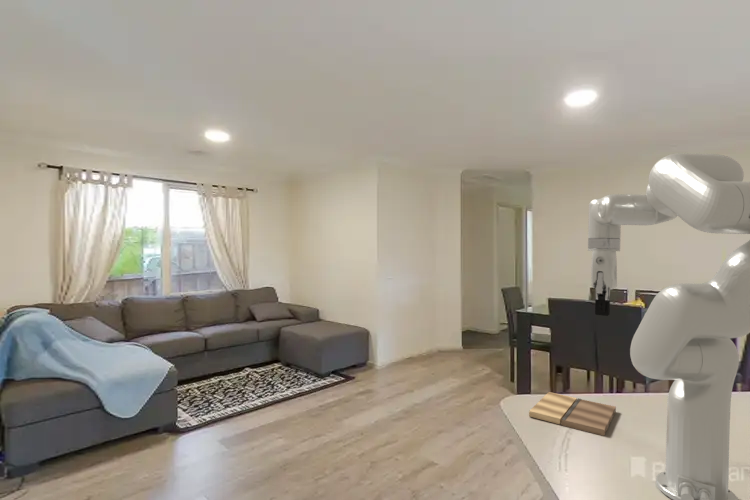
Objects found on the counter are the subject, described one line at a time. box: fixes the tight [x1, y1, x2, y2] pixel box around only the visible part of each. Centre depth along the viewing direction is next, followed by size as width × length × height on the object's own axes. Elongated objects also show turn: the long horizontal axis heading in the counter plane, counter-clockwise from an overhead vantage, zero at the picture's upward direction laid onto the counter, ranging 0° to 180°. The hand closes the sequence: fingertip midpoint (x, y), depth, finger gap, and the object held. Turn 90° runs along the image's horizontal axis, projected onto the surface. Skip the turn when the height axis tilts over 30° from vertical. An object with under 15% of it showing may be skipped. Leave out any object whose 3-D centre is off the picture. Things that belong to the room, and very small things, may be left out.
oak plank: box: [528, 391, 578, 425], centre depth 122 cm, size 20×8×2 cm, turn 143°
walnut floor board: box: [560, 398, 617, 437], centre depth 116 cm, size 20×10×2 cm, turn 143°
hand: (602, 314), depth 112 cm, fingers closed
